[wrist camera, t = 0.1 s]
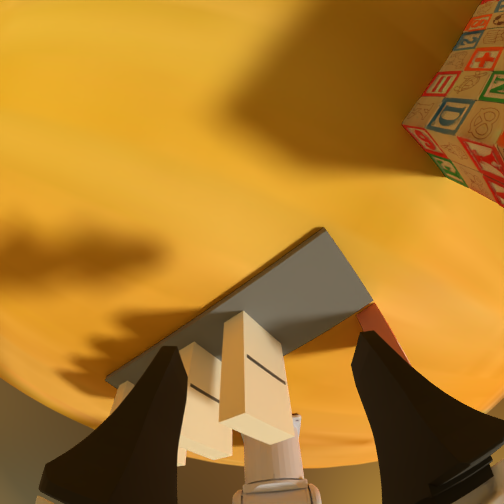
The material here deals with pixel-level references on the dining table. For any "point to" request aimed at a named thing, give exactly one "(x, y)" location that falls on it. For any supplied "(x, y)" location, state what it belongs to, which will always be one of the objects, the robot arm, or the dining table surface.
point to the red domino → (380, 328)
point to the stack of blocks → (468, 107)
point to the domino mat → (274, 304)
